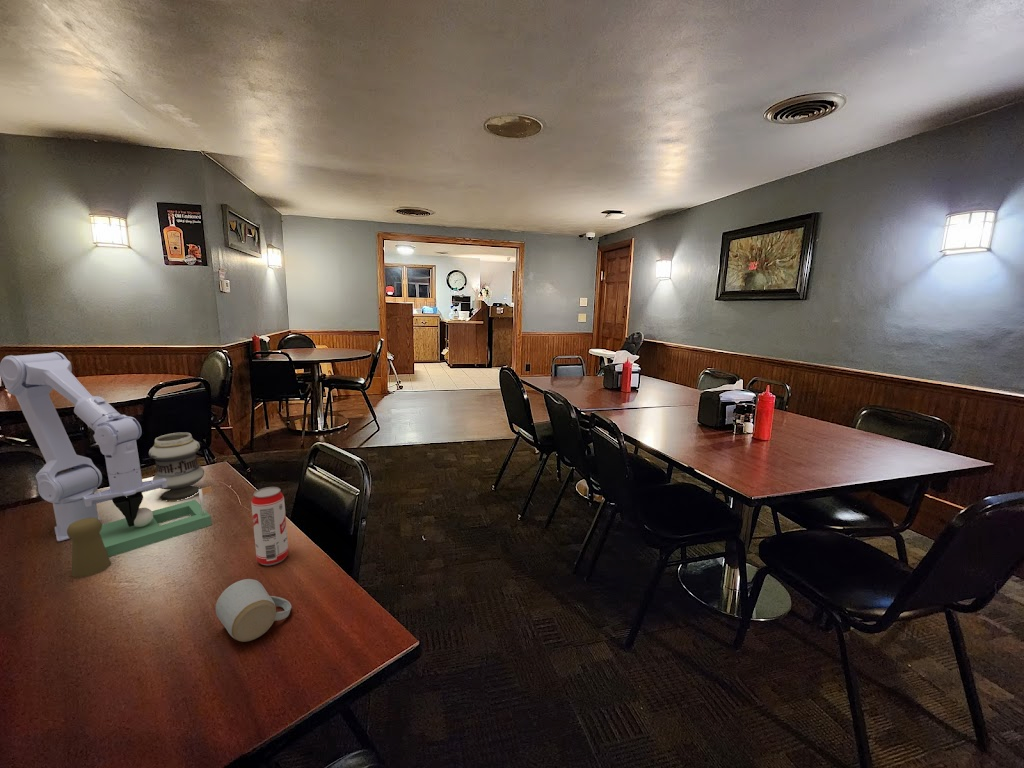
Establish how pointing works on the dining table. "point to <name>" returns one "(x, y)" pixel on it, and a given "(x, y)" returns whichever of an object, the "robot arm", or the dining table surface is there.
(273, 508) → the beer can
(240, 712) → the dining table surface
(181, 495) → the apothecary jar
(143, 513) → the egg
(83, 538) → the cork
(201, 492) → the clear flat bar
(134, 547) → the green
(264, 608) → the ceramic mug
